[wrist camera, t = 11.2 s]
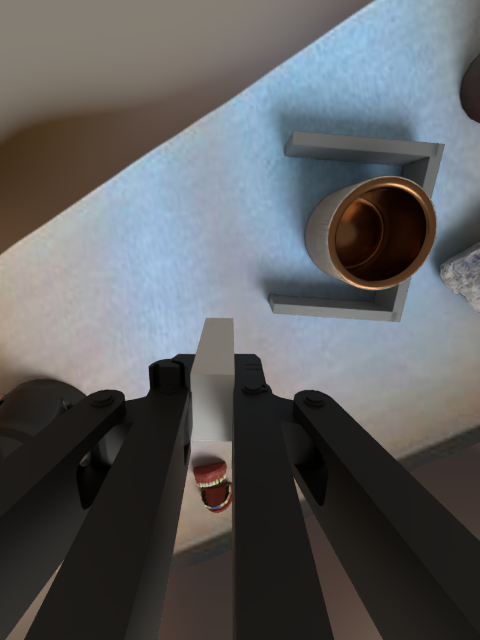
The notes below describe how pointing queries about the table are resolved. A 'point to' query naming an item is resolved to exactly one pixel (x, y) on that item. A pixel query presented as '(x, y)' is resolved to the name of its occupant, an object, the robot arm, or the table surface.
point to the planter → (373, 232)
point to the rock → (464, 274)
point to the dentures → (214, 497)
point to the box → (414, 156)
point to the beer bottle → (472, 91)
